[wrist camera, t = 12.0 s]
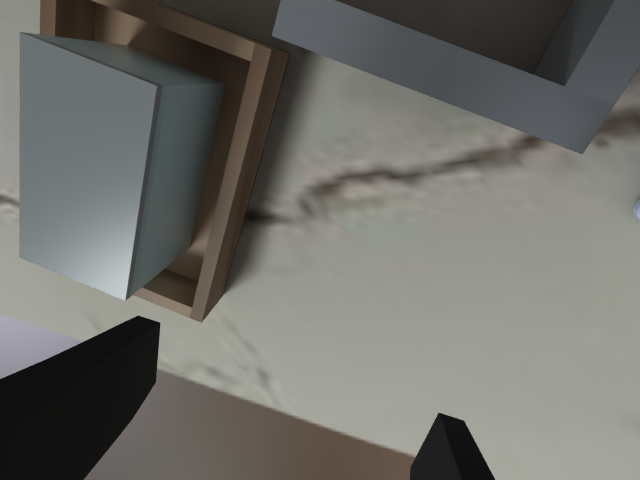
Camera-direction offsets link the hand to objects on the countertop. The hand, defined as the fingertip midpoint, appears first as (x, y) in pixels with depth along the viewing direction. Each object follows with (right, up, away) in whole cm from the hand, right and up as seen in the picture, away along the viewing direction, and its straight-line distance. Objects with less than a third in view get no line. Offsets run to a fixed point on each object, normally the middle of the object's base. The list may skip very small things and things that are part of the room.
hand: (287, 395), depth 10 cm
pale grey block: (-6, +8, +8) cm, 13 cm away
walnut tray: (-6, +8, +8) cm, 13 cm away
